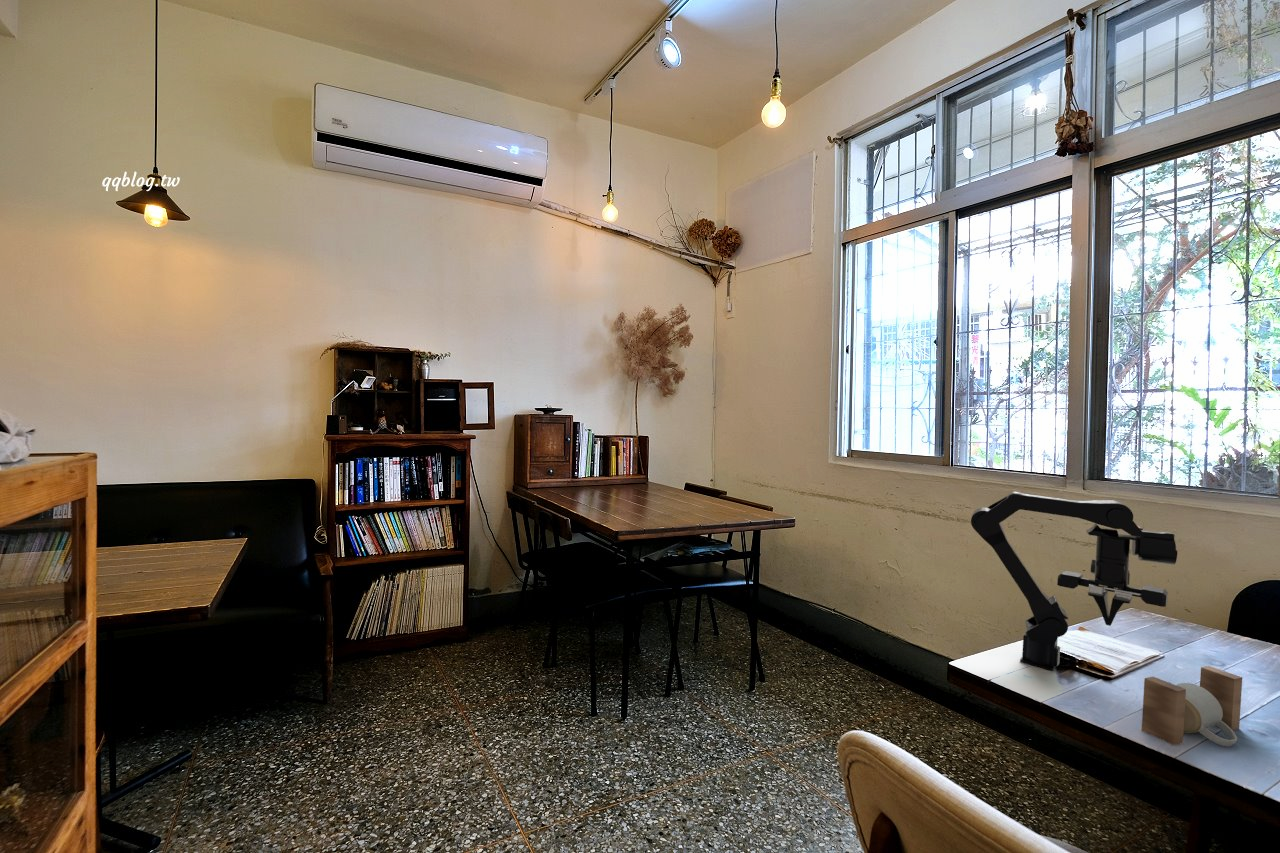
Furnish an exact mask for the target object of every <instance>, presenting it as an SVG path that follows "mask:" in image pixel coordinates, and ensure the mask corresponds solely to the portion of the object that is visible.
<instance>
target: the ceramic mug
mask: <svg viewBox="0 0 1280 853" xmlns="http://www.w3.org/2000/svg"><path fill="white" fill-rule="evenodd" d="M1175 685H1176V686H1179V687H1182V688H1184V689H1186V697H1185V714H1184V731H1183V734H1194V733H1195V734H1196V733H1199V734H1201V735H1202V736H1204V737H1205V738H1206V739H1207V740H1210V741H1211V742H1213V743H1214V744H1217V745H1219V746H1221V747H1222V746H1223V747H1227V748H1228V747H1232V746H1233V745H1234V744H1236V742H1237V741H1238V736H1237V735H1236V733H1235V731H1234V730H1233V731H1232V729H1231V728H1230V727H1229V726H1228V725H1227V724H1225V723H1224V722H1223V721H1221V720H1222V717H1223V711H1222V708H1221V705H1220V704H1219V702H1218V700H1217V699H1216V698H1215V697H1214V696H1213V695H1212V694H1211V693H1210V692H1208V691H1207V690H1206V689H1204V688H1202V687H1200V685H1197V684H1194V683H1190V682H1182V683H1181V682H1180V683H1176V684H1175ZM1213 727H1216V728H1217V729H1219V730H1220V731H1221V732H1222V733H1223V734H1224V735H1226V737H1227V738H1228V739H1226V738H1223V737H1220V736H1219V735H1217V734H1216V733H1213V732H1212V731H1211V730H1210V728H1213Z"/></svg>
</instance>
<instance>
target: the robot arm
mask: <svg viewBox="0 0 1280 853" xmlns="http://www.w3.org/2000/svg"><path fill="white" fill-rule="evenodd" d="M1020 510H1023V511H1027V512H1036V513H1042V514H1049V515H1056V516H1063V517H1070V518H1077V519H1081V520H1085V521H1087V522H1091V523H1093V525H1092V526H1091V527H1089V528H1088V529H1086V533H1087V535H1089V536H1094V537H1096V546H1095V550H1096V552H1095V559H1092V560H1091V563H1090V573H1091V574H1093V575H1094V579H1091V578H1087V577H1084V576H1083V573H1081V572H1076V571H1069V570H1064V571H1062V572H1060V573H1059V574H1058V576H1057V583H1056V584H1057V586H1059V587H1062V588H1066V589H1073V590H1074V589H1076V588H1077V587H1079V586H1081V587H1085V588H1088V592H1087V596H1089V597H1093V599H1094V601H1095V603H1096V605H1097V606H1098V608H1099V611H1100V613H1101V616H1102V618H1103V621H1104V623H1105V625H1106V626H1109V627H1111V626H1112V624H1113V622H1114V620H1115V618H1116V615H1117V614H1118V612H1119V610H1120V609H1121V608H1122V606H1123V605H1124V604H1131V602H1132V601H1133V597H1136V598H1140V599H1141V600H1142V601H1143V602H1144V603H1145V604H1147V605H1151V606H1152V605H1153V606H1158V607H1161V608H1166V607H1167V606H1168V601H1169V600H1168V599H1169V592H1168V591H1167V589H1166V588H1162V587H1156V586H1151V585H1146V584H1144V585H1143V587H1142V588H1138V587H1133V586H1129V585H1130V580H1131V579H1130V578H1131V574H1130V570H1129V566H1130V565H1129V562H1130V545H1131V552H1132V553H1131V554H1132V555H1133V556H1137V557H1138V560H1139V561H1143V562H1150V563H1157V564H1158V563H1159V564H1164V565H1166V564H1167V565H1173V566H1174V565H1176V563H1177V559H1178V549H1177V545H1176V544H1177V543H1176V540H1175V534H1174V533H1172V532H1170V531H1153V530H1152V531H1151V530H1143V529H1142V527H1140V526H1139V525H1137V524H1136V523H1135V521H1134V513H1133V512H1132V510H1131V508H1130V507H1128V506H1127V505H1126V504H1124V503H1122V502H1120V501H1118V500H1112V499H1110V500H1109V499H1105V500H1103V499H1098V500H1097V499H1095V500H1074V499H1067V498H1066V499H1065V498H1058V497H1053V496H1052V497H1051V496H1043V495H1036V494H1029V493H1028V494H1027V493H1022V492H1019V491H1012V492H1009V493H1008V494H1007V495H1006V496H1005V497H1003V498H1001V499H999V500H996V502H994V503H992V504H990V505H989V506H987V507H979V508H977V509H975V510H974V511H973V512H972V514H971V518H970V524H971V526H972V528H973V529H974V531H975V532H976V533H977V534H978V535H979V536H980V537H981V538H982V539H983V540H984V541H985V542H986V543H987V544H988V545H989V546H990V547H991V548H992V549H993V550H994V552H995V554H996V555H997V557H998V558H999V560H1000V562H1002V564H1003V566H1004V567H1005V569H1006V571H1007V572H1008V573H1009V575H1010V576H1011V578H1012V579H1013V581H1014V582H1015V584H1016V585H1017V587H1018V589H1020V591H1021V593H1022V594H1023V596H1024V597H1025V599H1026V600H1027V603H1028V605H1029V608H1030V611H1031V613H1032V616H1031V617H1030V618H1028V619H1026V620H1025V621H1024V622H1025V629H1026V630H1025V632H1024V633H1023V635H1022V652H1021V653H1022V654H1021V657H1020V659H1019V661H1020V662H1022V663H1025V664H1028V665H1031V666H1036V667H1038V668H1041V669H1045V670H1049V671H1054V669H1056V667H1058V666H1059V665H1060V658H1061V657H1060V656H1061V655H1060V654H1061V647H1060V646H1059V645H1058V640H1059V639H1058V638H1059V637H1063V636H1065V634H1066V633H1067V631H1068V629H1069V624H1068V622H1067V621H1068V619H1069V617H1068V615H1067V614H1068V613H1067V612H1066V609H1064V608H1063V607H1062V606H1061V605H1060V603H1059V602H1058V599H1057V597H1056V595H1053V596H1050V597H1049V596H1048V595H1046V593H1045V592H1043V591H1042V589H1041V588H1040V585H1039V584H1038V583H1037V582H1036V580H1035V579H1034V577H1033V576H1032V574H1031V573H1030V571H1029V570H1028V568H1027V566H1026V565H1025V564H1024V562H1023V561H1022V559H1021V558H1020V557H1019V555H1018V553H1017V551H1016V550H1015V549H1014V547H1013V546H1012V544H1011V543H1010V541H1009V540H1008V538H1007V536H1006V533H1005V531H1004V528H1003V526H1002V524H1001V523H1002V522H1004V521H1005V520H1007V519H1008V518H1009V517H1010V516H1012V515H1014V514H1015V513H1016V512H1018V511H1020ZM1100 526H1103V527H1100ZM1104 527H1107V528H1104ZM1118 530H1122V531H1124V532H1125V533H1127V534H1123V533H1119V532H1118ZM1131 540H1132V541H1131ZM1109 592H1111V593H1114V596H1113V597H1112V600H1111V605H1110V607H1109V600H1108V599H1109V597H1108V596H1109ZM1109 608H1110V609H1109Z"/></svg>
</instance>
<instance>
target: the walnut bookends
mask: <svg viewBox="0 0 1280 853" xmlns="http://www.w3.org/2000/svg"><path fill="white" fill-rule="evenodd" d="M1143 679H1144V683H1143V696H1142V697H1143V699H1142V700H1143V701H1142V702H1143V703H1142V716H1141V717H1142V718H1141V719H1142V720H1141V731H1142V732H1144V733H1146V734H1148V735H1151V736H1153V737H1155V738H1157V739H1159V740H1162V741H1163V742H1165V743H1168V744H1170V745H1171V746H1178V745H1181V744H1183V743H1184V733H1183V731H1184V714H1185V697H1186V689H1184V688H1182V687H1179V686H1176V685H1177V684H1173V683H1171V682H1168V681H1166V680H1164V679H1160V678H1158V677H1155V676H1149V677H1144V678H1143ZM1199 686H1200V687H1202V688H1204V689H1206V690H1207V691H1208V692H1210V693H1211V694H1212V695H1213V696H1214V697H1215V698H1216V699H1217V700H1218V702H1219V704H1220V705H1221V708H1222V711H1223V717H1222V720H1221V721H1223V722H1224V723H1225V724H1227V725H1228V726H1229V727H1230V728H1231V729H1232V731H1233V732H1234V731H1236V730H1239V729H1240V721H1241V708H1242V707H1241V703H1242V689H1243V677H1242V676H1240V675H1237V674H1234V673H1231V672H1229V671H1226V670H1222V669H1219V668H1216V667H1213V666H1211V665H1206V666H1201V667H1200V679H1199Z"/></svg>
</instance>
